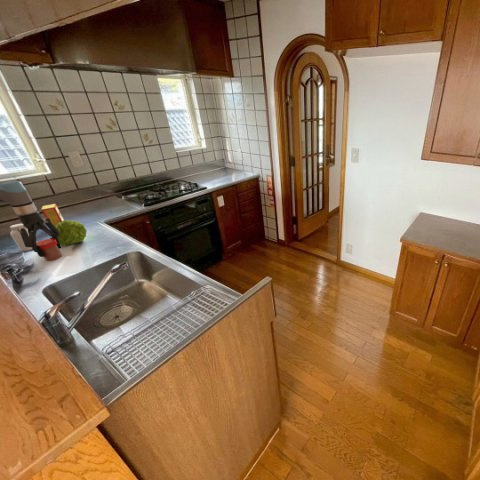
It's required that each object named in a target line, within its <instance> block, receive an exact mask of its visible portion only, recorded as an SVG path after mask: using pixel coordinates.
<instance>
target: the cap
mask: <svg viewBox="0 0 480 480" xmlns="http://www.w3.org/2000/svg"><path fill="white" fill-rule="evenodd" d="M50 238H51V237H50ZM50 238H45V239H42V240H39V241H37V245H39V246H40V248H41V250H42V249H47V248H50V247H53V246H55V245H56V244H57V241H56V240H55V239H53V238H51V239H50Z"/></svg>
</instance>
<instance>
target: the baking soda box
mask: <svg viewBox="0 0 480 480" xmlns="http://www.w3.org/2000/svg"><path fill="white" fill-rule="evenodd" d="M40 211H41V213H42V214H43V216H44V218H49V219H50V221H51V223H52V224H53V225H54V226H55V225H57V224H58V223H60V222H62V221H63V220H65V219H64V217H63V215H62V212H61V210H60V209H59V207H58V206H57V204H56V203H52V204H45V205H42V207H41V208H40Z"/></svg>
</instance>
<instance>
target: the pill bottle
mask: <svg viewBox="0 0 480 480" xmlns="http://www.w3.org/2000/svg"><path fill="white" fill-rule="evenodd" d="M22 227H23V223H16V224H12V225H10V226H9V228H10V230H11V231H10V233H9V234H10V237H11V238H12V239H13V241H14V242H15V244H16V245H17V247H18V248H19V250H20V251H21V252H27V251H32V250H33V249H32V247H25V245H24V242H23V239H22V237H21V234H20V232H19V231H18V230H17V229H18V228H22ZM26 230H27V233H28V229H26ZM28 236H29V233H28ZM37 242H38V241H37V240H36V243H37Z"/></svg>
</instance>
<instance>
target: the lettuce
mask: <svg viewBox="0 0 480 480" xmlns="http://www.w3.org/2000/svg"><path fill="white" fill-rule="evenodd" d="M55 228H56V229H57V230H58V231H59V233H60V234H58V237H57V238H58V239H59V244H60V245H61V246H62V247H66V246H69V245H73V244H79V243H80V242H83V241H84V240H85V238H86V237H87V233H88V231H87V229H86V227H85V224H83V223H81V222H80V221H77V220H73V219H71V220H67V219H64V220H63V221H62V222H60V223H58V224H57V225H55Z"/></svg>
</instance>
